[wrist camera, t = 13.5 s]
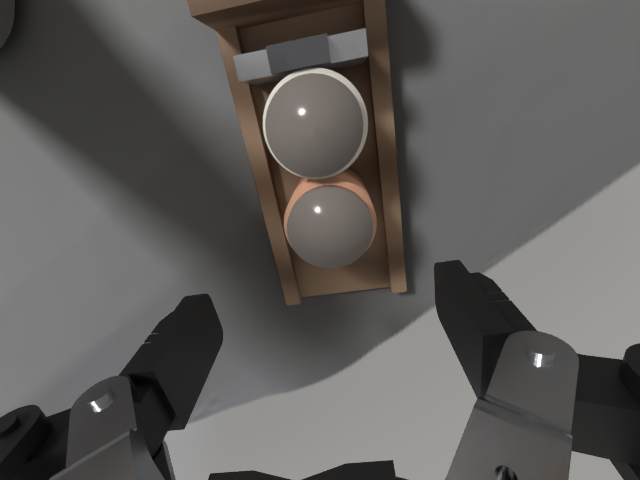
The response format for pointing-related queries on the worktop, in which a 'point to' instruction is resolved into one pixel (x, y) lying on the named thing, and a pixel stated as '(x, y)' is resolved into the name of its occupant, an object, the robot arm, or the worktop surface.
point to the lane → (372, 165)
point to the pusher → (302, 56)
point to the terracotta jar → (330, 220)
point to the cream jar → (315, 123)
